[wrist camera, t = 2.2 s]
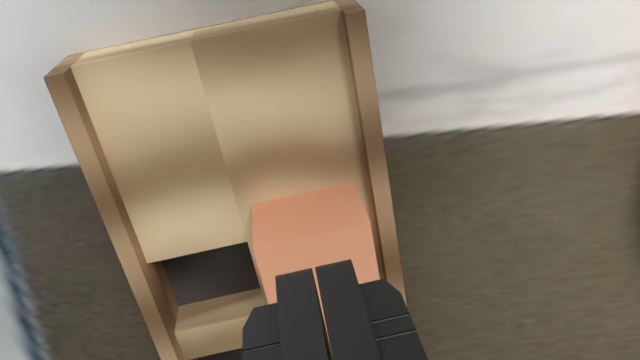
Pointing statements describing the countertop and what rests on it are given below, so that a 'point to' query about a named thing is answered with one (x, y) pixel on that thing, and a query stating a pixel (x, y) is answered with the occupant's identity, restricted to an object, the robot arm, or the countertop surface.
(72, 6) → the countertop surface
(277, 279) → the robot arm
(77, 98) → the trap track
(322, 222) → the terracotta block
